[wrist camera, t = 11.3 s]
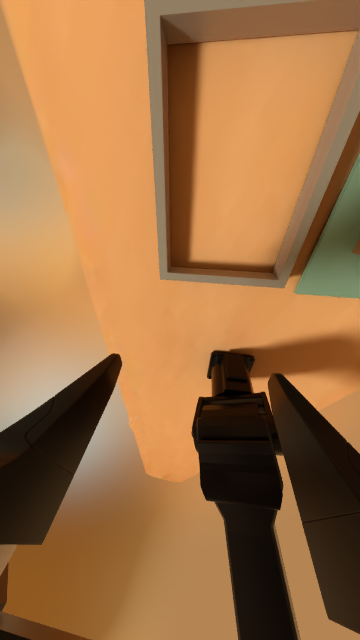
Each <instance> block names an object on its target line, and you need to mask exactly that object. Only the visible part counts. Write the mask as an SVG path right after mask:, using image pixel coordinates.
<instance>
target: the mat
mask: <svg viewBox="0 0 360 640" xmlns="http://www.w3.org/2000/svg"><path fill="white" fill-rule="evenodd" d="M359 238H360V153H359V155H358V157H357V159H356V161H355V164H354V166H353V168H352V170H351V172H350V174H349V176H348V179H347V181H346V183H345V185H344V187H343V189H342V191H341V193H340V196H339V198H338V200H337V202H336V204H335V206H334V208H333V210H332V213H331V215H330V217H329V219H328V221H327V223H326V225H325V227H324V230H323V232H322V234H321V236H320V238H319V240H318V242H317V244H316V247H315V249H314V251H313V253H312V255H311V257H310V259H309V262H308V264H307V266H306V268H305V270H304V272H303V274H302V276H301V279H300V281H299V283H298V285H297V287H296V289H295V291H294V293H295V294H306V295H319V296H333V297H347V298H360V255H357V254H354V253H351V252H352V250H353V249H354V247H355V245H356V244H357V242H358V240H359Z"/></svg>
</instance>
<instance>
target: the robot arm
mask: <svg viewBox="0 0 360 640" xmlns="http://www.w3.org/2000/svg"><path fill="white" fill-rule="evenodd" d="M254 361H255V359H254V357H253V356H250V355H241V354H232V353H223V352H212V353H211V357H210V363H209V368H208V373H207V378H208V379H212V397H199V399H198V403H197V407H196V412H195V416H194V421H193V426H192V437H193V438H194V444H195V448H196V450H197V452H198V454H199V463H200V484H201V488H202V491H203V494H204V496H205V499H206V500H207V501H214V502H215V504H216V506H217V508H218V510H219V512H220V513H221V515H222V517H223V519H224V525H225V532H226V541H227V549H228V557H229V566H230V573H231V583H232V591H233V599H234V607H235V616H236V623H237V632H238V640H301V639H300V635H299V630H298V626H297V621H296V617H295V612H294V608H293V603H292V599H291V594H290V590H289V585H288V581H287V576H286V572H285V567H284V563H283V559H282V554H281V550H280V545H279V540H278V536H277V532H276V527H275V518H276V515H277V511H278V510H280V508H281V503H282V497H283V493H282V491H283V481H282V477H281V473H280V470H279V466H278V462H277V458H276V455H280V456H284V458H285V461H286V465H287V469H288V473H289V476H290V480H291V484H292V487H293V491H294V495H295V499H296V502H297V506H298V510H299V513H300V517H301V520H302V522H303V523H302V525H303V528H304V532H305V536H306V539H307V542H308V547H309V550H310V554H311V558H312V561H313V565H314V569H315V573H316V576H317V580H318V583H319V587H320V591H321V595H322V598H323V602H324V605H325V609H326V613H327V616H328V618H329V619H330V620H332V621H334V622H336V623H338V624H340V625H342V626H344V627H346V628H348V629H350V630H352V631H354V632H356V633H358V634H360V454H359V453H358V452H357V451H356V450H355V449H354V448H353V447H352V446H351V444H349V443H348V442H347V441H346V439H345V438H343V436H342V435H340V433H339V432H338V431H337V430H336V429H335V428H334V427H333V426H332V425H331V424H330V423H329V422H328V421H327V420H326V419H325V418H324V417H323V416H322V415H321V414H320V413H319V412H318V411H317V410H316V409H315V408H314V407H313V405H312V404H311V403H310V402H309V401H308V400H307V399H306V398H305V397H304V396H303V395H302V394H301V393H300V392H299V391H298V390H297V389H296V388H295V387H294V386H293V385H292V384H291V383H290V382H289V381H288V380H287V379H286V378H285V377H284V376H283V375H282V374H280V373H273V374H272V375H271V377H270V379H269V381H268V389H269V396H270V402H271V408H272V412H271V409H270V405H269V402H268V399H267V396H266V393H265V392H261V393H254V392H253V387H252V383H251V379H250V375H249V372H250V370H251V368H252V365H253V363H254ZM121 367H122V361H121V357H120V355H119V354H115V353H113V354H111V355H109V356H108V357H107V358H106V359H104V360H103V361H102V362H100V363H99V364H97V365H96V366H94V367H93V368H92V369H91V370H89V371H88V372H86V373H85V374H84V375H82V376H81V377H80V378H78V379H77V380H75V381H74V382H73V383H71V384H70V385H69V386H67V387H66V388H64V389H63V390H62V391H60V392H59V393H58V394H56V395H55V397H52V398H51V399H49V400H48V401H47V402H45V403H44V404H43V405H41V406H40V407H38V408H37V409H35V410H34V411H32V412H31V413H29V414H28V415H26V416H25V417H23V418H22V419H20V420H19V421H17V422H16V423H14V424H13V425H11V426H9V427H8V428H6V429H5V430H3V431H2V432H0V640H91V639H87V638H84V637H81V636H77V635H74V634H71V633H68V632H65V631H62V630H58V629H55V628H52V627H49V626H46V625H43V624H40V623H36V622H33V621H30V620H27V619H23V618H20V617H17V616H14V615H11V614H8V613H4V612H2V610H3V608H4V606H5V604H6V602H7V582H8V581H7V580H8V561H9V559H10V557H11V556H12V554H13V552H14V550H15V549H16V547H17V545H41V544H42V543H43V541H44V539H45V537H46V535H47V533H48V531H49V528H50V526H51V524H52V522H53V520H54V517H55V515H56V513H57V511H58V509H59V507H60V505H61V502H62V500H63V498H64V496H65V494H66V491H67V489H68V487H69V485H70V483H71V481H72V479H73V477H74V474H75V472H76V470H77V468H78V465H79V464H80V461H81V459H82V457H83V455H84V453H85V450H86V448H87V446H88V444H89V442H90V440H91V437H92V435H93V433H94V431H95V429H96V427H97V425H98V423H99V420H100V418H101V416H102V414H103V412H104V410H105V407H106V405H107V403H108V401H109V399H110V397H111V395H112V392H113V390H114V387H115V384H116V382H117V379H118V376H119V373H120V370H121ZM272 413H273V415H272Z"/></svg>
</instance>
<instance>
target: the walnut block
mask: <svg viewBox="0 0 360 640" xmlns="http://www.w3.org/2000/svg"><path fill="white" fill-rule="evenodd" d="M351 253H354V254H357V255H360V238H359V240H358V242H357V244H356V245H355V247H354V249H353V250H352V252H351Z"/></svg>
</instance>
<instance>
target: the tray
mask: <svg viewBox="0 0 360 640" xmlns="http://www.w3.org/2000/svg"><path fill="white" fill-rule="evenodd" d="M144 2H145V20H146V38H147V56H148V73H149V91H150V109H151V127H152V144H153V162H154V180H155V198H156V215H157V233H158V251H159V269H160V279H161V280H175V281H189V282H203V283H217V284H231V285H245V286H259V287H273V288H285V285H286V283H287V281H288V278H289V276H290V274H291V271H292V269H293V267H294V264H295V262H296V260H297V257H298V255H299V253H300V250H301V248H302V245H303V243H304V241H305V238H306V236H307V234H308V231H309V229H310V227H311V224H312V222H313V220H314V217H315V215H316V213H317V210H318V208H319V205H320V203H321V201H322V198H323V196H324V194H325V191H326V189H327V187H328V184H329V182H330V180H331V177H332V175H333V172H334V170H335V168H336V165H337V163H338V161H339V158H340V156H341V154H342V151H343V149H344V147H345V144H346V142H347V140H348V137H349V135H350V132H351V130H352V128H353V125H354V123H355V121H356V118H357V116H358V114H359V111H360V0H144ZM348 30H359V31H358V34H357V37H356V40H355V42H354V45H353V48H352V51H351V54H350V56H349V59H348V62H347V65H346V68H345V70H344V73H343V76H342V79H341V82H340V84H339V87H338V90H337V93H336V96H335V98H334V101H333V104H332V107H331V110H330V112H329V115H328V118H327V121H326V124H325V126H324V129H323V132H322V135H321V138H320V140H319V143H318V146H317V149H316V152H315V155H314V157H313V160H312V163H311V166H310V169H309V171H308V174H307V177H306V180H305V183H304V185H303V188H302V191H301V194H300V197H299V199H298V202H297V205H296V208H295V211H294V213H293V216H292V219H291V222H290V225H289V227H288V230H287V233H286V236H285V239H284V241H283V244H282V247H281V250H280V253H279V255H278V258H277V261H276V264H275V267H274V269H273V272H272V273H266V272H250V271H234V270H218V269H202V268H186V267H171V249H170V184H169V119H168V55H167V45H168V44H181V43H194V42H207V41H219V40H232V39H245V38H258V37H271V36H284V35H297V34H309V33H322V32H335V31H348Z"/></svg>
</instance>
